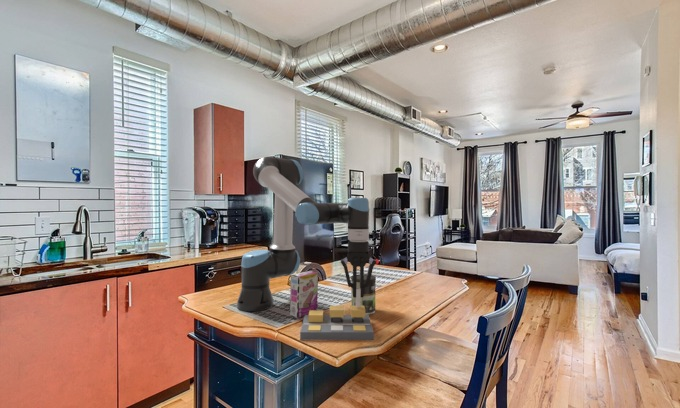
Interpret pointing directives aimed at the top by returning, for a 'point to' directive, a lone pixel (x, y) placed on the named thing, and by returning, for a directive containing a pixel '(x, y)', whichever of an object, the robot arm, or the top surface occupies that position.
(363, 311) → the button
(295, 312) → the candy bar box
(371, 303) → the coffee can
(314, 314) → the button
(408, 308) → the top surface
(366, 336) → the board
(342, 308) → the button
